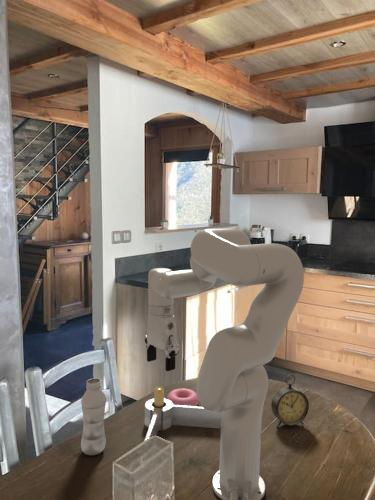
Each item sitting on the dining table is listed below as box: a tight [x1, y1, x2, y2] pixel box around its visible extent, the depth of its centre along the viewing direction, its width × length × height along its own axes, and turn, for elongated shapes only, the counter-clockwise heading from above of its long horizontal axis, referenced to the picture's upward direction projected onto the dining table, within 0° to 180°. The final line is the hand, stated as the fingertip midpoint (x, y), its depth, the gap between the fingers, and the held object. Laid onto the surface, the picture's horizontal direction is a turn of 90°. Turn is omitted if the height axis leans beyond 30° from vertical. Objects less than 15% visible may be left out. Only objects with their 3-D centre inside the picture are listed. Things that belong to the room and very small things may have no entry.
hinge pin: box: [153, 386, 165, 408], centre depth 127 cm, size 3×3×11 cm
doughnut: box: [166, 387, 199, 406], centre depth 139 cm, size 11×11×4 cm
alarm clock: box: [271, 374, 310, 429], centre depth 127 cm, size 11×5×16 cm, turn 104°
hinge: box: [143, 397, 222, 442], centre depth 118 cm, size 24×24×6 cm
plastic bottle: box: [80, 377, 107, 456], centre depth 111 cm, size 6×7×20 cm
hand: (160, 365), depth 124 cm, fingers open, 9 cm apart
